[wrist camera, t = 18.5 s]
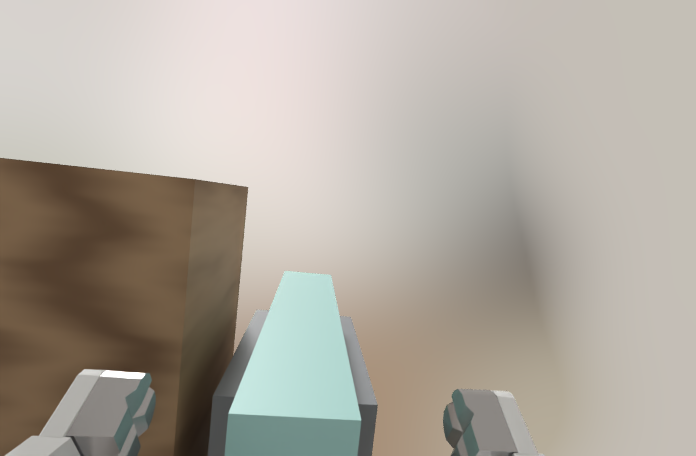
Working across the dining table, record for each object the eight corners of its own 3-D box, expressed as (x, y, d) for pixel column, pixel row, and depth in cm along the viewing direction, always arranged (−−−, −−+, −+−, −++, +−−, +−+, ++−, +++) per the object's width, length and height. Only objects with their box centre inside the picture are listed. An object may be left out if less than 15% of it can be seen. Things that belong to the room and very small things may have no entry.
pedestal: (-32, 732, 17) (-9, 157, 15) (116, 502, 30) (139, 175, 28) (152, 727, 18) (195, 179, 16) (219, 505, 31) (248, 187, 29)
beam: (216, 539, 10) (228, 413, 10) (280, 315, 29) (284, 270, 29) (347, 542, 10) (361, 420, 10) (326, 319, 29) (330, 275, 29)
